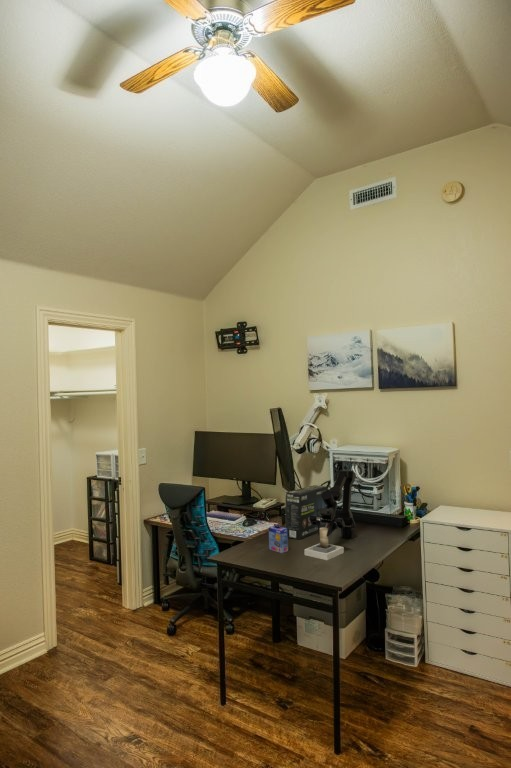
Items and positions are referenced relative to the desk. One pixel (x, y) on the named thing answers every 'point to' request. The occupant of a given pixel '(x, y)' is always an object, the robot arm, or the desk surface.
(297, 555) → the desk surface
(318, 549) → the housing
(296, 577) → the desk surface
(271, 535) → the ink cartridge box
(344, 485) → the robot arm
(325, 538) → the beige domed cylinder
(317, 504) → the router box
